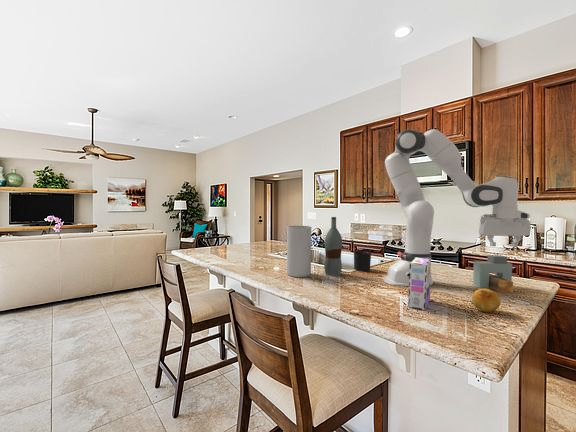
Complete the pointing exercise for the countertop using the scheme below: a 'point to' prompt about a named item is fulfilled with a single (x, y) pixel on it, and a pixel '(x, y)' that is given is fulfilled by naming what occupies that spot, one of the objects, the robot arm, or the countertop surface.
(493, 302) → the fruit
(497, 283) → the bar
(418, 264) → the candy box
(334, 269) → the bottle
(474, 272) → the grey-green arch block
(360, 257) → the pen holder
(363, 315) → the countertop surface
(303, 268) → the cylinder vase
